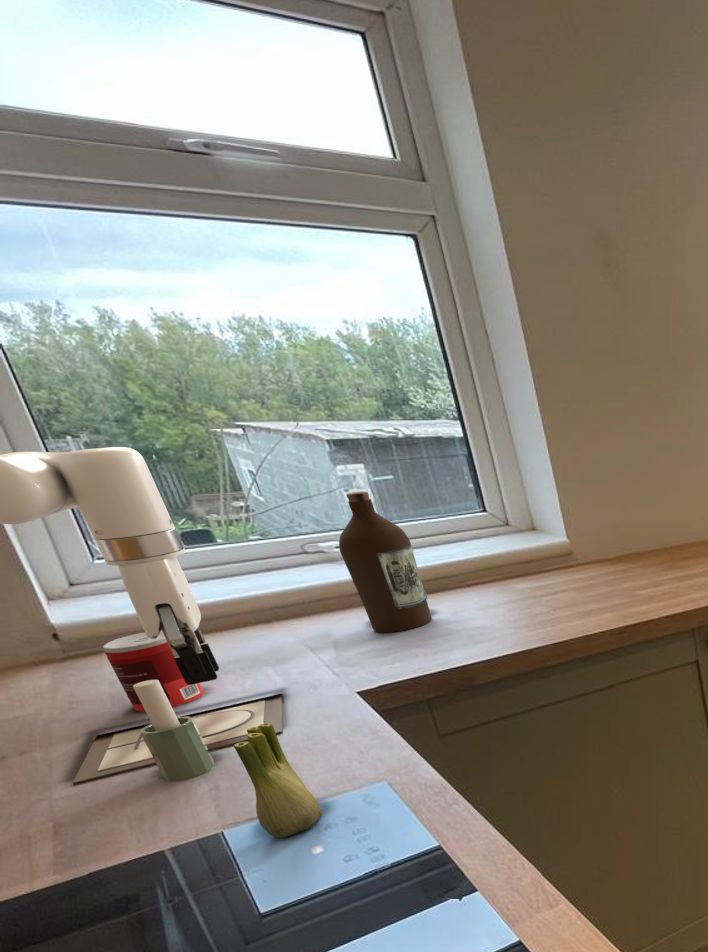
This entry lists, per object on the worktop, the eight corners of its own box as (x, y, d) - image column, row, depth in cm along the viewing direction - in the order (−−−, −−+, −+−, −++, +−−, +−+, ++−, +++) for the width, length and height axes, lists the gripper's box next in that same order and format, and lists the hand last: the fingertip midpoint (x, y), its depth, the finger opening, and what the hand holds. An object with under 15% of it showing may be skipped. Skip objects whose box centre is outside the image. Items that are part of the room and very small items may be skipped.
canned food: (206, 692, 126) (174, 626, 122) (208, 706, 121) (175, 637, 117) (138, 708, 122) (102, 640, 117) (137, 723, 116) (100, 652, 112)
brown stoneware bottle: (355, 633, 151) (304, 498, 141) (403, 615, 161) (358, 487, 151) (403, 634, 149) (354, 498, 139) (449, 616, 159) (406, 487, 149)
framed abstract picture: (75, 788, 99) (70, 781, 98) (99, 740, 112) (95, 733, 111) (284, 736, 110) (281, 729, 110) (283, 697, 123) (281, 691, 123)
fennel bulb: (289, 846, 85) (241, 744, 80) (250, 843, 86) (201, 742, 81) (339, 815, 90) (297, 718, 85) (302, 813, 91) (259, 717, 86)
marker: (177, 777, 99) (131, 688, 94) (179, 771, 101) (133, 683, 96) (201, 771, 100) (157, 682, 96) (202, 765, 102) (159, 677, 97)
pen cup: (165, 788, 98) (138, 736, 95) (168, 774, 101) (142, 724, 98) (215, 775, 100) (190, 724, 98) (217, 762, 104) (193, 713, 101)
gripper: (111, 542, 109) (173, 669, 116) (90, 563, 97) (160, 703, 104) (186, 532, 113) (241, 655, 120) (175, 552, 101) (236, 686, 108)
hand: (203, 676), depth 112 cm, fingers open, 3 cm apart
